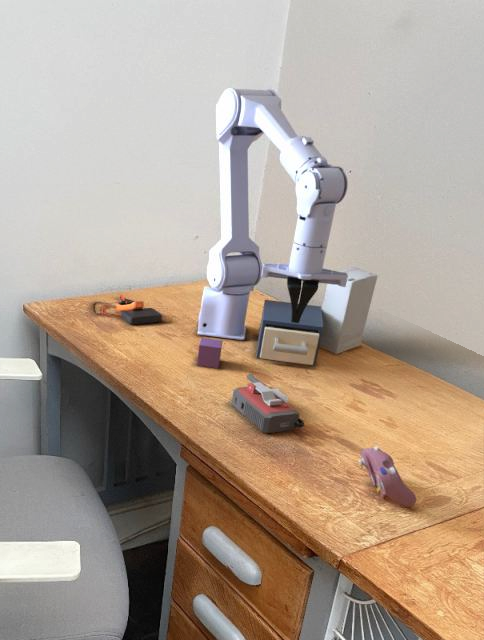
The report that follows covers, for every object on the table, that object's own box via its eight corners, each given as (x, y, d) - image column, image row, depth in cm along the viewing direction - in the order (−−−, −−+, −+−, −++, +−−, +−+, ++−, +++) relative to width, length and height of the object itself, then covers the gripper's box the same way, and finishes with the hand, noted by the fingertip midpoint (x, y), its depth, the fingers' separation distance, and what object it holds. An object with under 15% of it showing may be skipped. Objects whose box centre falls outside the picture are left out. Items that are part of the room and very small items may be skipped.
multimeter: (80, 299, 172) (80, 283, 170) (130, 296, 176) (131, 281, 174) (109, 327, 158) (110, 310, 156) (162, 323, 162) (164, 307, 160)
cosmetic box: (337, 338, 161) (353, 265, 153) (361, 347, 158) (379, 273, 150) (311, 345, 157) (327, 271, 149) (336, 355, 153) (353, 279, 145)
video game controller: (361, 481, 114) (351, 443, 111) (391, 470, 114) (382, 431, 110) (387, 519, 106) (376, 479, 102) (419, 506, 105) (410, 466, 102)
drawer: (313, 375, 141) (320, 344, 138) (258, 368, 143) (264, 337, 139) (311, 344, 155) (317, 315, 152) (261, 337, 156) (266, 309, 153)
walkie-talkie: (314, 432, 124) (252, 381, 139) (320, 406, 121) (256, 358, 137) (266, 438, 121) (208, 386, 136) (271, 412, 118) (211, 362, 134)
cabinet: (314, 365, 148) (323, 327, 143) (256, 358, 149) (262, 319, 145) (313, 343, 158) (321, 306, 154) (258, 336, 159) (264, 299, 155)
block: (196, 365, 144) (199, 345, 142) (198, 357, 147) (201, 337, 145) (218, 368, 143) (221, 347, 141) (219, 360, 147) (222, 340, 145)
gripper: (266, 244, 130) (253, 323, 137) (355, 254, 128) (337, 333, 136) (267, 234, 136) (255, 310, 143) (352, 244, 134) (335, 320, 141)
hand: (294, 320), depth 140 cm, fingers closed
